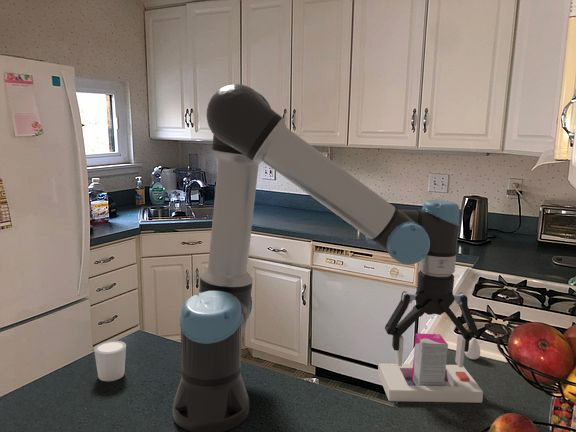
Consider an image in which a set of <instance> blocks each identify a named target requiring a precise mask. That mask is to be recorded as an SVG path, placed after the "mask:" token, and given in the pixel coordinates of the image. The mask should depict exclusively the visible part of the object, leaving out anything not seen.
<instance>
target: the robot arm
mask: <svg viewBox="0 0 576 432" xmlns="http://www.w3.org/2000/svg"><path fill="white" fill-rule="evenodd" d="M206 120H207V125H208V128H209V130H210V131H211V133H212V134H213V136H212V137H213V138H212V146H211V147H212V148H211V152H212V154H214V156H215V157H216V158H217V161H218V162H217V170H216V171H217V173H216V182H215V183H216V184H215V194H214V203H213V211H212V212H213V213H212V214H213V215H212V223H211V224H212V225H211V233H210V243H209V253H208V254H209V255H208V266H207V268H206V269H204V271H202V272H201V273H200V276H199V283H198V284H199V286H198V293H197V294H195V295H194V294H193V295H191V296H189V297H188V299H186V300H185V301H184V303H182V306H181V308H180V309H181V311H180V316H179V327H180V358H181V360H180V361H181V362H180V365H181V370H180V371H181V375H180V376H181V377H180V381H179V384H178V387H177V390H176V393H175V396H174V399H173V403H172V417H173V421H174V422H175V424H176V425H177V426H178V427H179V428H181V429H183V430H185V431H187V432H227V431H230V430H232V429H235V428H236V427H238V426H240V425H241V424H242V423H243V422H244V421H246V419H247V418H248V416H249V414H250V398H249V395H248V391H247V389H246V386H245V382H244V380H243V377H242V373H241V371H242V370H241V369H242V366H241V365H242V362H241V361H242V337H243V334H244V331H245V329H246V325H247V322H248V319H249V317H250V315H251V312H252V308H253V300H252V292H253V291H252V289H253V282H254V281H253V280H254V278H253V277H252V276H251V274H250V273H249V272H248V263H249V253H250V246H251V237H252V236H251V235H252V229H253V228H252V227H253V218H254V209H255V201H256V200H255V199H256V192H257V181H258V173H259V165H260V164H261V163H265V164H266V165H267V166H268V167H270V168H271V169H272V170H274V171H276V172H277V173H279V174H280V175H282V177H283V178H285V179H287V180H288V181H290V183H292V184H294V185H295V186H296V187H297V188H299V189H301V190H302V191H303V192H304V193H306V194H307V195H309V197H312V198H313V199H315V200H316V201H317V202H318V203H320V204H321V205H323V207H325V208H327V209H328V210H330V211H331V212H332V213H334V214H335V215H336V216H338V217H340V219H342V220H343V221H345V222H347V223H348V224H349V225H350V226H352V227H353V228H355V230H357V231H358V232H360V233H361V234H363V235H364V237H365V241H366V242H367V243H368V244H376V245H378V246H379V247H380V248H381V249H383V250H384V251H386V252H387V253H388V255H389V256H390V257H391V258H392V259H394V260H395V261H397V263H400V264H403V265H415V264H418V269H419V271H418V273H417V281H416V282H417V284H416V292H415V293H408V292H407V291H405V290H404V291H402V292H401V296H400V297H401V298H400V300H399V303H398V304H397V306H396V307H395V309H394V311H393V313H392V314H391V315H390V318H389V319H388V321H387V323H386V324H385V326H384V330H385V332H386V334H387V335H389V336H392V343H391V346H392V348H393V350H394V351H395V362H396V364H398V366H402V364H403V355H404V354H403V353H404V337H403V334H404V333H405V332H406V331H407V330H408V329H409V328H410V327H411V326H413V324H414V323H415V322H416V321H417V320H418V319H419V318H420V317H423V315H424V314H426V315H430V316H432V315H437V316H442V315H443V314H444V313H445V314H446V316H447V317H448V318H449V319H450V321H452V323H453V325H454V326H455V327H456V329H458V331H459V332H460V333H461V334H457V339H456V349H455V359H454V360H455V361H454V362H455V364H456V365H458V366H459V367H463V366H464V362H465V358H464V357H465V352H468V350H469V341H470V340H471V339H472V338H474V337H478V336H480V332H479V329H478V327H477V324H476V322H475V320H474V317H473V316H472V313H471V310H470V308H469V306H468V302H469V301H468V296H467V295H465V294H464V293H463V292H458V293H457V294H453V291H454V288H455V287H454V285H455V276H454V273H455V271H456V261H457V260H456V259H457V248H458V247H457V246H458V238H459V231H460V230H459V229H460V215H461V214H460V206H459V204H457V203H456V202H454V201H450V200H440V199H435V200H434V199H432V200H425V201H424V202H423V204H422V205H423V206H422V208H421V209H398V208H396V207H395V206H394V205H393V204H392V203H390V202H389V201H387V200H386V199H384V198H383V197H382V196H380V194H378V193H376V192H375V191H374V190H372V189H371V188H369V187H368V186H367V185H366V184H364V183H363V182H361V181H360V180H358V179H357V178H356V177H355V176H354V175H352V174H350V173H349V172H348V171H346V170H345V169H343V167H341V166H340V165H338V164H337V163H335V162H334V161H333V160H332V159H330V158H329V157H328V156H326V155H325V154H323V153H322V152H321V151H319V150H318V149H317V148H315V147H314V146H312V145H311V144H310V143H308V142H307V141H306V140H304V139H303V138H301V137H300V136H299V135H298V134H297V133H295V132H293V131H292V130H291V129H289V128H288V127H287V125H286V119H285V118H284V117H282V116H281V115H280V114H279V113H277V112H276V111H275V110H273V109H272V108H271V104H270V103H269V102H268V100H267V99H266V98H265V96H263V95H262V94H260V93H259V92H258V91H256V90H255V89H253V88H252V87H250V86H247V85H245V84H240V83H239V84H237V83H236V84H235V83H234V84H229V85H226V86H222V87H221V88H220V89H218V90H217V91H216V92H215V93H214V94H213V95H212V97H210V100H209V102H208V104H207V109H206ZM414 300H415V302H416V304H415V305H414V306H412V309H411V310H410V311H409V312H408V313H407V314H406V315H405V316H404V314H405V313H406V311H407V310H408V308H409V305H410V304H412V302H413V301H414ZM454 302H455V303H456V304H457V305H458V306H459V309H460V311H461V313H462V315H463V318H464V320H465V322H466V325H467V328H468V329H467V328H466V327H465V326H464V325H463V323H462V322H461V321H460V320H459V319H458V317H457V315H455V313H454V312H453V311H452V309H451V308H450V307H451V306H452V304H454ZM403 316H404V317H403ZM402 318H403V319H402Z"/></svg>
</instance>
